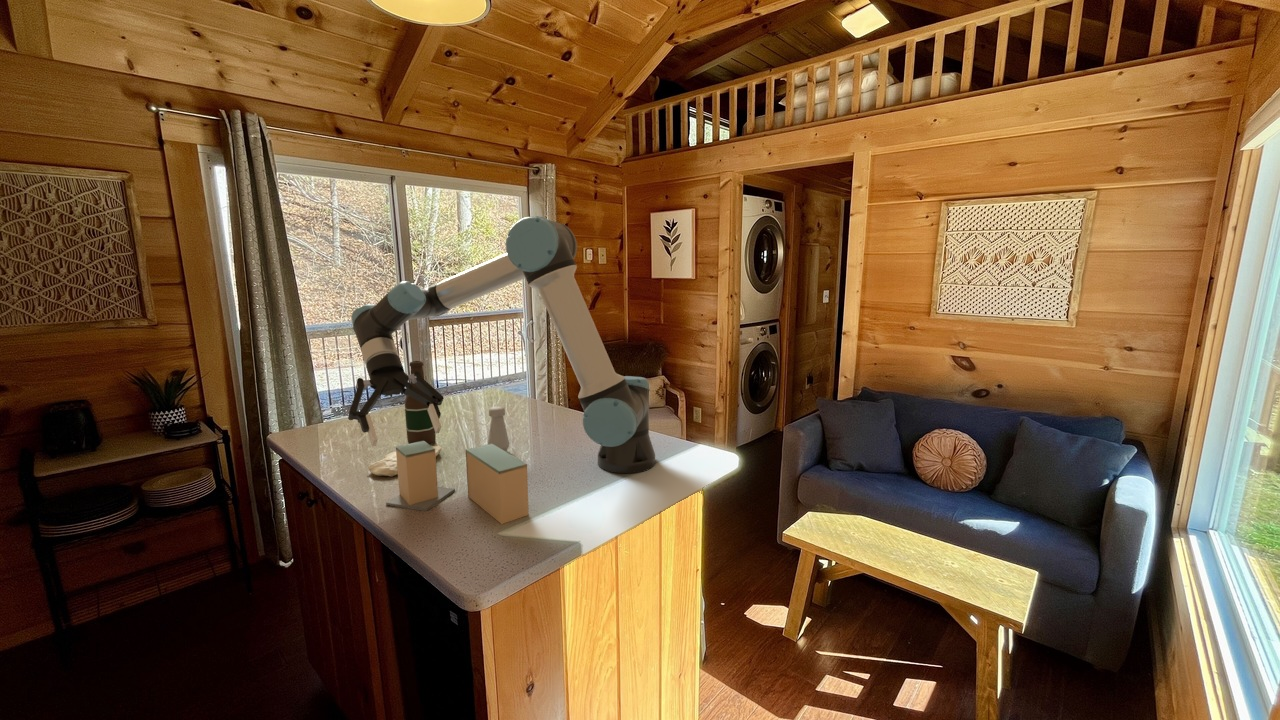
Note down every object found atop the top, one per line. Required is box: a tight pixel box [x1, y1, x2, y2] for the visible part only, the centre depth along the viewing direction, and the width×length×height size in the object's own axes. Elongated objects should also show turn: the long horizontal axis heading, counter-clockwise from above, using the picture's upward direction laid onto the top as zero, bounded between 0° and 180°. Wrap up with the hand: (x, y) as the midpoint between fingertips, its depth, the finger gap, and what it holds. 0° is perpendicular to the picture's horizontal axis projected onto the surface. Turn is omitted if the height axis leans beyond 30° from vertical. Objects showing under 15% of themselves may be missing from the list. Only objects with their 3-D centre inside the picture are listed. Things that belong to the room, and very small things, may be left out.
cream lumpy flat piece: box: [367, 445, 442, 478], centre depth 132 cm, size 4×13×20 cm
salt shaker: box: [487, 405, 510, 453], centre depth 140 cm, size 6×6×13 cm
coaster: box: [385, 486, 456, 512], centre depth 113 cm, size 10×10×1 cm
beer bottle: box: [404, 360, 437, 445], centre depth 147 cm, size 8×8×24 cm
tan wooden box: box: [465, 443, 530, 525], centre depth 109 cm, size 16×6×11 cm, turn 41°
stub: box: [395, 441, 439, 505], centre depth 112 cm, size 7×6×11 cm
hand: (408, 436), depth 114 cm, fingers open, 13 cm apart
